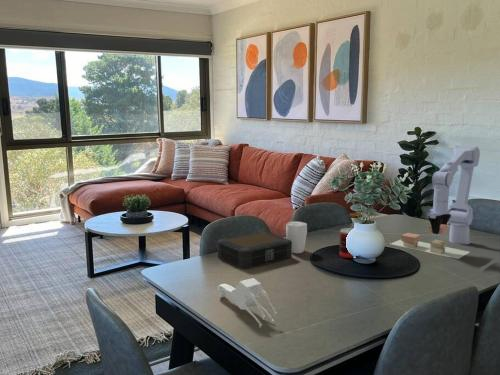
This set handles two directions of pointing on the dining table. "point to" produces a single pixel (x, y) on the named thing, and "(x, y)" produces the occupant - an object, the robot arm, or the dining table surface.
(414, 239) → the cap marked
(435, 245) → the plain block
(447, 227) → the cap plain
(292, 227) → the cup
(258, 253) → the cash box
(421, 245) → the board
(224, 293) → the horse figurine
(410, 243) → the marked block
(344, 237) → the canned food
